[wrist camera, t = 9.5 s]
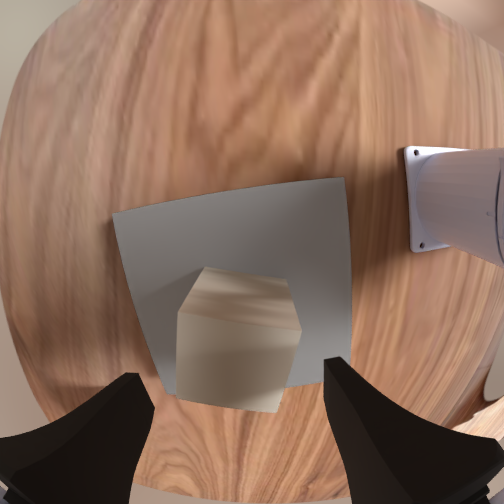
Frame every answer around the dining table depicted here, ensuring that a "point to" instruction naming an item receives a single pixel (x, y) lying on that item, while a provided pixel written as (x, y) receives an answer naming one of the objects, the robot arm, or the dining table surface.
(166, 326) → the plinth
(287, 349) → the cream cube
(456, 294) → the dining table surface
